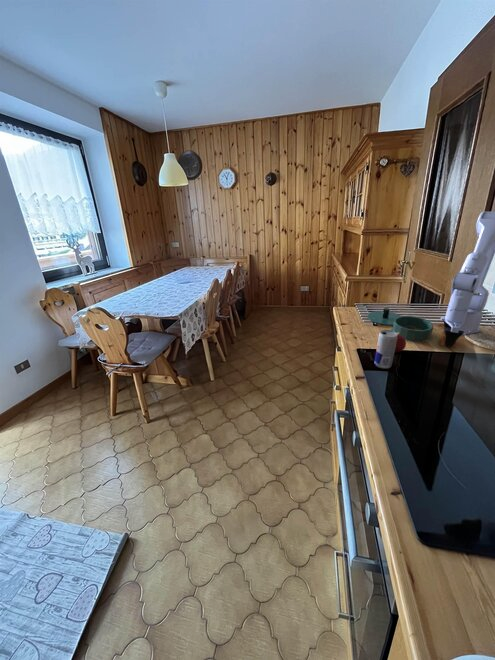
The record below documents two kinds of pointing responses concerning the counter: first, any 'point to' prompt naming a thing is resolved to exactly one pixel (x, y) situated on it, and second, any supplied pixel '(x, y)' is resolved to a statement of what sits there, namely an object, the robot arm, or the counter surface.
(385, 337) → the energy drink
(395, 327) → the tin
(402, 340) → the onion
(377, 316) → the tin lid
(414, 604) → the counter surface
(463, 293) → the robot arm
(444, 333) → the block
